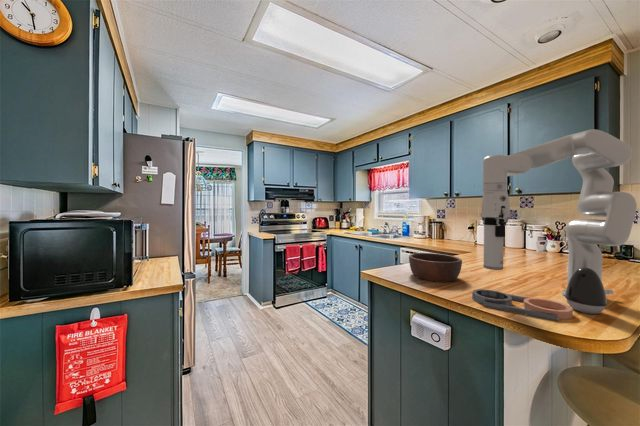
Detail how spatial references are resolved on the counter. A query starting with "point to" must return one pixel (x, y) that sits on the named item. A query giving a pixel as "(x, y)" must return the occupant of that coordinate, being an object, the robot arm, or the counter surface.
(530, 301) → the marked socket
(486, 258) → the travel mug
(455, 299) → the counter surface
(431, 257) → the wooden bowl
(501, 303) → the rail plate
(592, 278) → the dark gray tall dome
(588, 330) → the counter surface
